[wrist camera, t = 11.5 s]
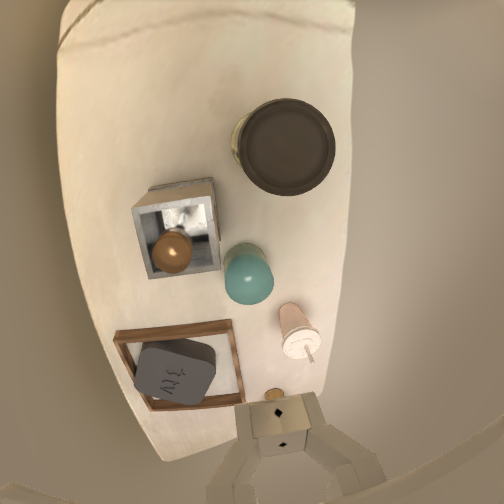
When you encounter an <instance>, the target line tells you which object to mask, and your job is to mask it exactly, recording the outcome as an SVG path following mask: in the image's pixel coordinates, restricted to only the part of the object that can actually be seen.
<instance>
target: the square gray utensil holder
mask: <svg viewBox="0 0 504 504" xmlns="http://www.w3.org/2000/svg"><path fill="white" fill-rule="evenodd" d="M199 204H204V209H205V216H206V222H207V229H208V234H206V235H199V236H192V237H191V238H192V240H193V251H192V257H191V262H190V264H189V266H188V267H187V268H186V269H185V270H184V271H182V272H180V273H176V274H170V273H166V272H164V271H162V270H160V269H159V268H158V267H157V266H156V264H155V263H154V261H153V256H152V252H153V248H154V246H155V244H156V242H157V240H158V238H159V236H160V234H161V233H162V232H163V231H164V230H165V226H164V221H163V215H162V210H167V209H173V208H179V207H186V206H193V205H199ZM131 209H132V214H133V219H134V223H135V228H136V232H137V236H138V240H139V244H140V248H141V252H142V256H143V260H144V264H145V268H146V271H147V275H148V279H157V278H164V277H172V276H180V275H187V274H195V273H202V272H209V271H217V270H221V261H220V244H219V241H221V237H220V229H219V222H218V215H217V208H216V200H215V193H214V185H213V178H212V177H209V178H202V179H195V180H189V181H182V182H176V183H170V184H164V185H159V186H153V187H150V188H149V189H148V193H147V194H146V195H145V196H144V197H142V198H141V199H140V200H139V201H138V202H137V203H136V204H135V205H134V206H133V207H132V208H131Z"/></svg>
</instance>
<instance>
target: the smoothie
mask: <svg viewBox="0 0 504 504" xmlns="http://www.w3.org/2000/svg"><path fill="white" fill-rule="evenodd" d="M279 316H280V323H281V330H282V338H283V340H282V349H283V351H284V353H285V354H286V355H287V356H288V357H290V358H294V359H300V358H305V357H309V360H310V362H311V365H314V364H315V362H314V360H313V358H312V355H311V354H313V353H314V352H315V351H316V350H317V349H318V348H319V346H320V343H321V337H320V335H319V332H318V331H317V330H316V329H315V328H313V327H312V325H311V324H310V323H309V321H308V320H307V319H306V317H305V316H304V315H303V313H302V312H301V310H300V309H299V308H298V306H297V305H296V304H294V303H287V304H285V305H283V306H282V307H281V308H280V310H279Z"/></svg>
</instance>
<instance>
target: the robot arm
mask: <svg viewBox="0 0 504 504" xmlns="http://www.w3.org/2000/svg"><path fill="white" fill-rule="evenodd" d="M248 404H249V406H248ZM234 410H235V419H236V427H237V436H238V441H234V442H233V444H232V446H231V447H230V449H229V451H228V452H227V454H226V455H225V457H224V459H223V460H222V462H221V463H220V465H219V467H218V468H217V470H216V471H215V473H214V474H213V476H212V477H211V479H210V480H209V482H208V484H207V485H206V487H205V488H206V504H258V500H257V496H256V493H255V489H254V486H252V485H250V482H251V480H252V478H253V476H254V473H255V472H256V469H257V467H258V465H259V463H260V461H261V458H266V457H272V456H277V455H282V454H288V453H294V452H299V451H305V452H306V453H307V454H308V455H309V456H310V457H311V458H313V459H314V460H315V461H316V462H317V463H318V464H320V465H321V466H322V467H323V468H324V469H326V470H327V471H328V472H329V473H330V474H331V475H332V477H331V480H330V482H329V484H328V485H327V487H326V493H327V497H328V500H329V501H327V502H323V503H319V504H504V414H503V415H502V416H500V417H499V418H498V419H497V420H495V421H494V422H492V423H491V424H490V425H488V426H487V427H486V428H484V429H483V430H481V431H480V432H479V433H477V434H476V435H474V436H472V437H471V438H469V439H468V440H466V441H465V442H463V443H461V444H460V445H458V446H456V447H455V448H453V449H451V450H450V451H448V452H447V453H445V454H443V455H441V456H439V457H437V458H435V459H434V460H432V461H430V462H428V463H426V464H424V465H422V466H420V467H418V468H416V469H414V470H412V471H410V472H407V473H405V474H403V475H401V476H399V477H396V478H394V479H391V480H389V481H388V480H387V478H386V476H385V474H384V472H383V469H382V467H381V464H380V462H379V460H378V458H377V455H376V453H374V452H372V451H371V450H369V449H367V448H366V447H364V446H363V445H361V444H360V443H358V442H356V441H355V440H353V439H352V438H350V437H349V436H347V435H346V434H344V433H343V432H341V431H340V430H338V429H337V428H335V427H334V426H332V425H330V424H329V425H327V424H326V422H325V419H324V416H323V414H322V411H321V408H320V405H319V403H318V400H317V397H316V395H315V393H314V392H313V391H312V392H308V393H303V394H296V395H292V396H287V397H281V398H276V399H272V400H265V401H258V402H250V403H241V404H235V405H234ZM249 411H250V412H249ZM0 504H78V503H75V502H71V501H67V500H64V499H61V498H57V497H54V496H51V495H48V494H45V493H42V492H39V491H37V490H34V489H31V488H29V487H26V486H24V485H21V484H19V483H16V482H9V483H8V484H6V485H4V486H3V487H1V488H0Z"/></svg>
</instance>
